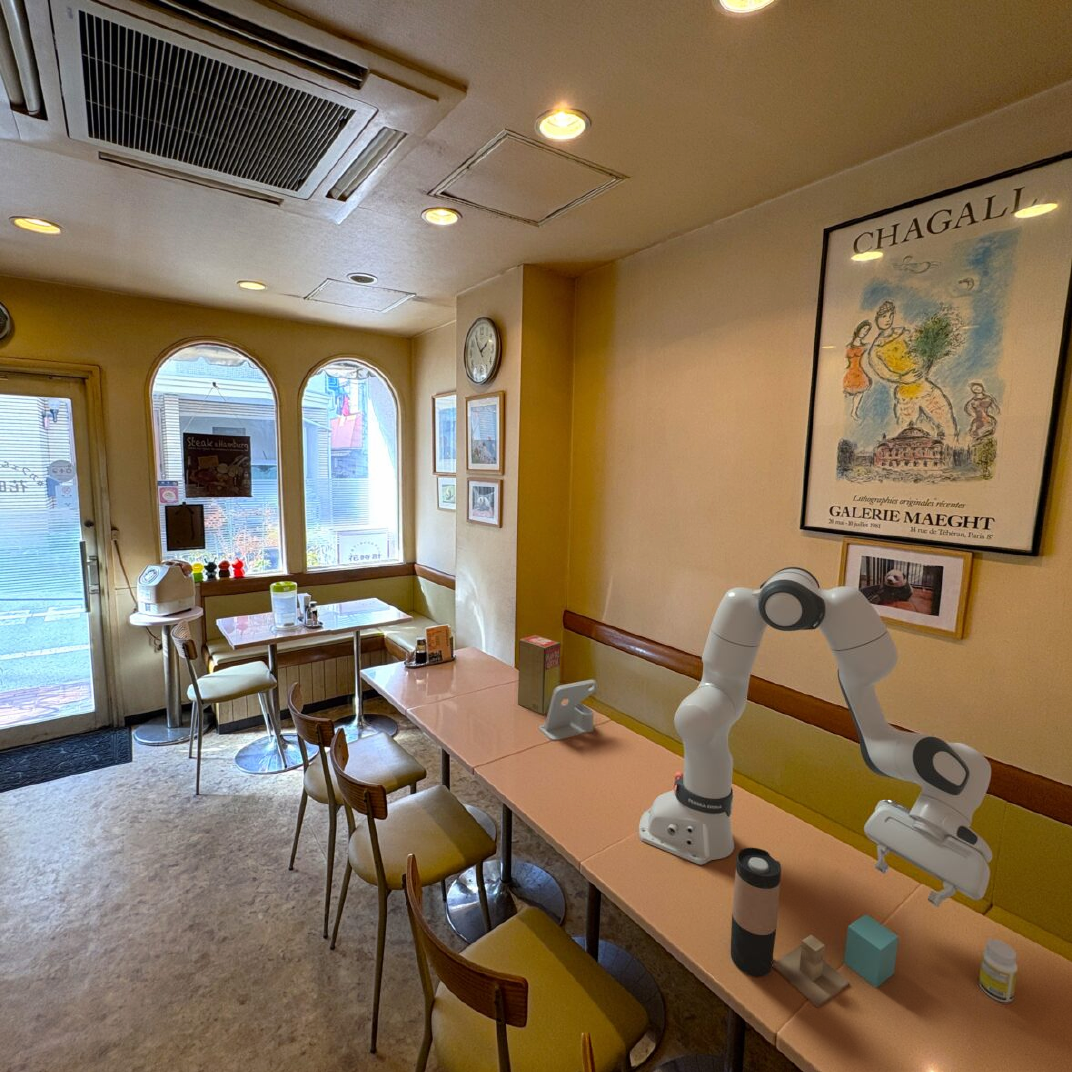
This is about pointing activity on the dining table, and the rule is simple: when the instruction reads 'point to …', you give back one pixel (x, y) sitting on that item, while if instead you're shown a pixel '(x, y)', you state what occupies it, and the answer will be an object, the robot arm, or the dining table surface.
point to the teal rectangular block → (871, 950)
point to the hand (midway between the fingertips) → (905, 886)
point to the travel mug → (755, 911)
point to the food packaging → (538, 672)
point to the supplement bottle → (998, 971)
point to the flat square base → (811, 972)
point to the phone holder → (569, 711)
